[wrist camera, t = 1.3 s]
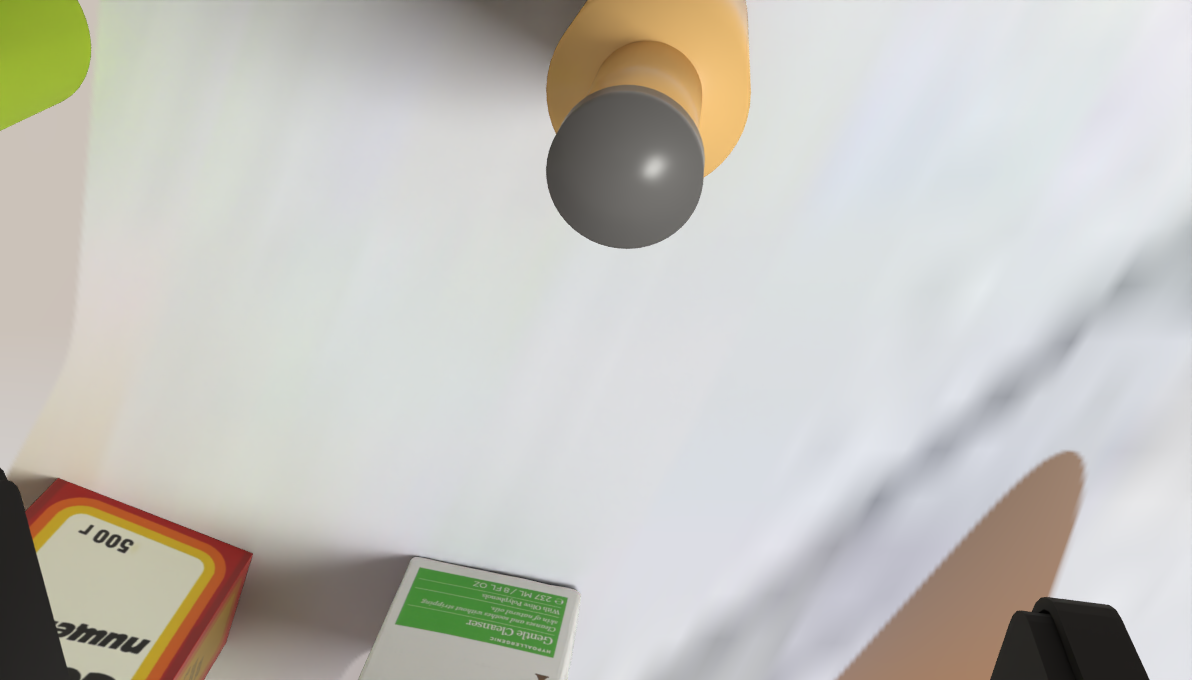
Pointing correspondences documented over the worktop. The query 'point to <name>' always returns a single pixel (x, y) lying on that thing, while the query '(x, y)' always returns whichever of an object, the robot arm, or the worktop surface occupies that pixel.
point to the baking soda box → (133, 587)
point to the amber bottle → (644, 113)
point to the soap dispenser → (40, 55)
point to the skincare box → (474, 627)
